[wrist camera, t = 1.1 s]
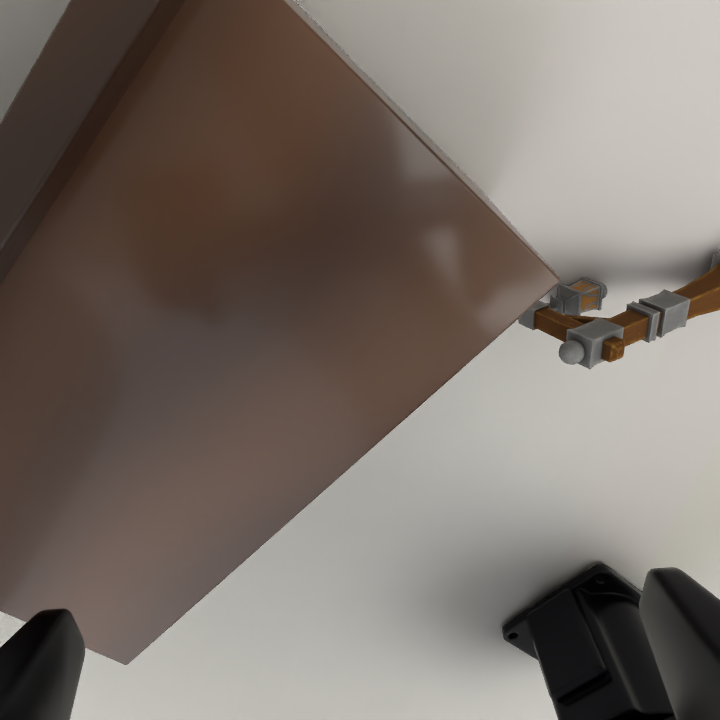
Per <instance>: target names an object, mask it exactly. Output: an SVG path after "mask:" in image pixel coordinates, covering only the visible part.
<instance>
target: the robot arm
mask: <svg viewBox="0 0 720 720" xmlns="http://www.w3.org/2000/svg"><path fill="white" fill-rule="evenodd" d="M502 633H503V637H504V639H505V640H506V641H507V642H509V643H511V644H512V645H514V646H516V647H517V648H519V649H521V650H522V651H524V652H525V653H527V654H529V655H530V656H532V657H534V658H535V659H537V660H538V661H539V664H540V667H541V670H542V673H543V676H544V679H545V682H546V686H547V689H548V692H549V695H550V697H551V699H552V702H553V705H554V708H555V711H556V714H557V717H558V720H720V600H719V599H718V598H717V597H715V596H714V595H713V594H712V593H710V592H709V591H708V590H706V589H705V588H704V587H703V586H701V585H700V584H699V583H697V582H696V581H695V580H694V579H692V578H691V577H690V576H688V575H687V574H686V573H684V572H683V571H682V570H680V569H678V568H673V567H669V568H654V569H651V570H650V571H649V572H648V573H647V576H646V580H645V584H644V587H643V591H642V592H641V591H640V590H639V589H637V588H636V587H635V586H633V585H632V584H631V583H629V582H628V581H627V580H625V579H624V578H623V577H621V576H620V575H619V574H617V573H616V572H615V571H613V570H612V569H611V568H609V567H608V566H606V565H596V566H594V567H592V568H591V569H589V570H588V571H586V572H585V573H583V574H582V575H580V576H579V577H577V578H575V579H574V580H572V581H571V582H569V583H568V584H566V585H565V586H563V587H562V588H560V589H559V590H557V591H556V592H554V593H553V594H551V595H549V596H548V597H546V598H545V599H543V600H542V601H540V602H539V603H537V604H536V605H534V606H533V607H531V608H530V609H528V610H526V611H525V612H523V613H522V614H520V615H519V616H517V617H516V618H514V619H513V620H511V621H510V622H508V623H507V624H505V625H504V626H503V627H502ZM84 656H85V642H84V639H83V636H82V634H81V632H80V630H79V628H78V626H77V624H76V622H75V619H74V617H73V615H72V613H71V612H70V611H69V610H68V609H65V608H62V609H47V610H42V611H40V612H38V613H37V614H35V615H34V616H33V617H32V618H31V619H30V620H29V621H28V622H27V623H26V624H25V625H24V626H23V627H21V628H20V629H19V630H18V631H17V632H16V633H15V634H14V635H13V636H12V637H11V638H10V639H9V640H8V641H7V642H6V643H5V644H4V645H3V646H2V647H0V720H70V716H71V711H72V707H73V703H74V699H75V694H76V690H77V686H78V682H79V678H80V673H81V669H82V665H83V661H84Z"/></svg>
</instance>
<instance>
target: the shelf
mask: <svg viewBox="0 0 720 720" xmlns="http://www.w3.org/2000/svg"><path fill="white" fill-rule="evenodd" d="M559 282H560V277H559V276H558V275H557V274H556V273H555V272H554V271H553V270H552V268H551V267H550V266H549V265H548V264H547V263H546V262H545V261H544V260H543V259H542V257H541V256H540V255H539V254H538V253H537V252H536V251H535V250H534V248H533V247H532V246H531V245H530V244H529V243H528V242H527V241H526V240H525V238H524V237H523V236H522V235H521V234H520V233H519V232H518V231H517V230H516V228H515V227H514V226H513V225H512V224H511V223H510V222H509V221H508V219H507V218H506V217H505V216H504V215H503V214H502V213H501V212H500V211H499V209H498V208H497V207H496V206H495V205H494V204H493V203H492V202H491V201H490V199H489V198H488V197H487V196H486V195H485V194H484V193H483V192H482V191H481V190H480V189H479V188H478V187H477V186H476V185H475V184H474V183H473V182H472V181H471V180H470V179H469V178H468V177H467V176H466V175H465V174H464V173H463V172H462V171H461V170H460V169H459V168H458V167H457V166H456V165H455V164H454V163H453V162H452V161H451V160H450V159H449V158H448V157H447V156H446V155H445V154H444V153H443V152H442V151H441V150H440V149H439V148H438V147H437V146H436V145H435V144H434V142H433V141H432V140H431V139H430V138H429V137H428V136H427V135H426V134H425V133H424V132H423V131H422V130H421V129H420V128H419V127H418V126H417V125H416V124H415V123H414V122H413V121H412V120H411V119H410V118H409V117H408V116H407V115H406V114H405V113H404V112H403V111H402V110H401V109H400V108H399V107H398V106H397V105H396V104H395V103H394V102H393V101H392V100H391V99H390V98H389V97H388V96H387V95H386V94H385V93H384V92H383V91H382V90H381V89H380V88H379V87H378V86H377V85H376V84H375V83H374V82H373V81H372V80H371V79H370V78H369V77H368V75H367V74H366V73H365V72H364V71H363V70H362V69H361V68H360V67H359V66H358V65H357V64H356V63H355V62H354V61H353V60H352V59H351V58H350V57H349V56H348V55H347V54H346V53H345V52H344V51H343V50H342V49H341V48H340V47H339V46H338V45H337V44H336V43H335V42H334V41H333V40H332V39H331V38H330V37H329V36H328V35H327V34H326V33H325V32H324V31H323V30H322V29H321V28H320V27H319V26H318V25H317V24H316V23H315V22H314V21H313V20H312V19H311V18H310V17H309V16H308V15H307V14H306V13H305V12H304V11H303V10H302V8H301V7H300V6H299V5H298V4H297V3H296V2H295V1H294V0H71V1H70V2H69V4H68V6H67V8H66V9H65V11H64V13H63V15H62V16H61V18H60V20H59V22H58V23H57V25H56V27H55V29H54V30H53V32H52V34H51V36H50V37H49V39H48V41H47V43H46V44H45V46H44V48H43V50H42V51H41V53H40V55H39V56H38V58H37V60H36V62H35V63H34V65H33V67H32V69H31V70H30V72H29V74H28V76H27V77H26V79H25V81H24V83H23V84H22V86H21V88H20V90H19V91H18V93H17V95H16V97H15V98H14V100H13V102H12V104H11V105H10V107H9V109H8V111H7V112H6V114H5V116H4V118H3V119H2V121H1V123H0V611H1V612H4V613H6V614H8V615H11V616H13V617H15V618H18V619H20V620H22V621H25V622H28V621H29V620H30V619H31V618H32V617H33V616H34V615H35V614H37V613H38V612H40V611H42V610H47V609H62V608H65V609H68V610H69V611H70V612H71V613H72V615H73V617H74V619H75V622H76V624H77V626H78V628H79V630H80V632H81V634H82V636H83V639H84V642H85V648H87V649H90V650H92V651H94V652H97V653H99V654H101V655H104V656H106V657H108V658H111V659H113V660H115V661H117V662H120V663H122V664H124V665H127V664H129V663H130V662H131V661H132V660H133V659H134V658H135V657H137V656H138V655H139V654H140V653H141V652H142V651H143V650H144V649H146V648H147V647H148V646H149V645H150V644H151V643H152V642H153V641H155V640H156V639H157V638H158V637H159V636H160V635H161V634H162V633H164V632H165V631H166V630H167V629H168V628H169V627H170V626H172V625H173V624H174V623H175V622H176V621H177V620H178V619H179V618H181V617H182V616H183V615H184V614H185V613H186V612H187V611H188V610H190V609H191V608H192V607H193V606H194V605H195V604H196V603H198V602H199V601H200V600H201V599H202V598H203V597H204V596H205V595H207V594H208V593H209V592H210V591H211V590H212V589H213V588H214V587H216V586H217V585H218V584H219V583H220V582H221V581H222V580H223V579H225V578H226V577H227V576H228V575H229V574H230V573H231V572H233V571H234V570H235V569H236V568H237V567H238V566H239V565H240V564H242V563H243V562H244V561H245V560H246V559H247V558H248V557H249V556H251V555H252V554H253V553H254V552H255V551H256V550H257V549H259V548H260V547H261V546H262V545H263V544H264V543H265V542H266V541H268V540H269V539H270V538H271V537H272V536H273V535H274V534H275V533H277V532H278V531H279V530H280V529H281V528H282V527H283V526H284V525H286V524H287V523H288V522H289V521H290V520H291V519H292V518H294V517H295V516H296V515H297V514H298V513H299V512H300V511H301V510H303V509H304V508H305V507H306V506H307V505H308V504H309V503H310V502H312V501H313V500H314V499H315V498H316V497H317V496H318V495H320V494H321V493H322V492H323V491H324V490H325V489H326V488H327V487H329V486H330V485H331V484H332V483H333V482H334V481H335V480H336V479H338V478H339V477H340V476H341V475H342V474H343V473H344V472H346V471H347V470H348V469H349V468H350V467H351V466H352V465H353V464H355V463H356V462H357V461H358V460H359V459H360V458H361V457H362V456H364V455H365V454H366V453H367V452H368V451H369V450H370V449H371V448H373V447H374V446H375V445H376V444H377V443H378V442H379V441H381V440H382V439H383V438H384V437H385V436H386V435H387V434H388V433H390V432H391V431H392V430H393V429H394V428H395V427H396V426H397V425H399V424H400V423H401V422H402V421H403V420H404V419H405V418H407V417H408V416H409V415H410V414H411V413H412V412H413V411H414V410H416V409H417V408H418V407H419V406H420V405H421V404H422V403H423V402H425V401H426V400H427V399H428V398H429V397H430V396H431V395H432V394H434V393H435V392H436V391H437V390H438V389H439V388H440V387H442V386H443V385H444V384H445V383H446V382H447V381H448V380H449V379H451V378H452V377H453V376H454V375H455V374H456V373H457V372H458V371H460V370H461V369H462V368H463V367H464V366H465V365H466V364H468V363H469V362H470V361H471V360H472V359H473V358H474V357H475V356H477V355H478V354H479V353H480V352H481V351H482V350H483V349H484V348H486V347H487V346H488V345H489V344H490V343H491V342H492V341H493V340H495V339H496V338H497V337H498V336H499V335H500V334H501V333H503V332H504V331H505V330H506V329H507V328H508V327H509V326H510V325H512V324H513V323H514V322H515V321H516V320H517V319H518V318H519V317H521V316H522V315H523V314H524V313H525V312H526V311H527V310H529V309H530V308H531V307H532V306H533V305H534V304H535V303H536V302H538V301H539V300H540V299H541V298H542V297H543V296H544V295H545V294H547V293H548V292H549V291H550V290H551V289H552V288H553V287H554V286H556V285H557V284H558V283H559Z"/></svg>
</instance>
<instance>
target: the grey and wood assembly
mask: <svg viewBox="0 0 720 720" xmlns="http://www.w3.org/2000/svg"><path fill="white" fill-rule="evenodd" d="M606 294H607V287H606V286H605V285H604V284H603V283H598V282H594V281H592V280H589V279H587V278H584V277H582V278H581V280H580V281H579V282H577V283H575V284H572V285H570V286H566V285H564V284H562V283H558V287H557V296H556V298H555V297H553V296H550V304H548V303H543V302H541V301H538V302H536V303H535V304H534V305H533V306H532V307H531V308H530V309H529V310H527V311H526V312H525V313H524V314H523V315H522V316H521V317H519V318H518V320H519V323H520V324H522V325H524V326H526V327H528V328H530V329H532V330H535V329H539V330H541V331H543V332H545V333H547V334H549V335H551V336H553V337H555V338H557V339H560V340H562V341H564V342H565V343H563V344H562V345H561V346H560V349H559V356H560V358H561V360H562V361H563V362H564V363H566V364H572V365H573V364H576V363H578V364H580V365H582V366H584V367H586V368H588V369H591V368H592V367H593V366H594V365H596V364H598V363H600V362H603V361H605V360H606V361H608V362H612V361H615V360H617V359H620V358H622V357H623V354H624V347H625V346H627V345H630V344H632V343H634V342H637V341H639V340H641V339H642V340H644V341H646V342H648V343H649V342H650V341H652V340H655V339H656V336H658V337H663V336H664V335H665V334H666V333H667V332H670V331H672V330H674V329H676V328H678V327H685V325H686V320H688V319H690V318H693V317H695V316H698V315H702V314H706V313H710V312H714V311H718V310H720V251H719V252H718V253H716V254H715V253H714V254H713V259H712V264H711V269H710V271H709V272H707V273H706V274H704V275H702V276H701V277H699V278H698V279H696V280H694V281H693V282H691V283H689V284H688V285H686V286H684V287H683V288H681V289H678V290H676V291H674V292H669V291H667V290H663V291H662V292H660V293H659V294H657V295H654V296H652V297H649V298H645V299H639V303H636V302H632V303H631V304H627V309H626V311H625V312H623V313H621V314H619V315H616V316H614V317H612V318H599V317H586V316H580V313H582V312H586V311H589V310H593V309H597V310H601V305H602V299H603V298H604V297H605V296H606ZM563 314H564V315H563Z"/></svg>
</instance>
